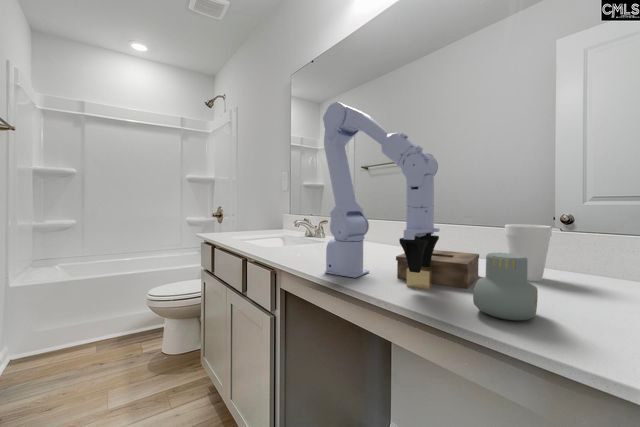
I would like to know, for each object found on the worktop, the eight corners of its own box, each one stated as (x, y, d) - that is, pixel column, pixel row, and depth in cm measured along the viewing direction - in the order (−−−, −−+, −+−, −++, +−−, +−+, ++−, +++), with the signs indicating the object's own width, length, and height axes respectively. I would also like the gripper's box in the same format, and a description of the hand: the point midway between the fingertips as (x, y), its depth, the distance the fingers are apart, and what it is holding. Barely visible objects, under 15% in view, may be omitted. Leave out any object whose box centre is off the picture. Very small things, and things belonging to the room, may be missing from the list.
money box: (395, 278, 74) (395, 256, 74) (417, 267, 87) (417, 248, 87) (466, 289, 65) (467, 264, 65) (478, 275, 78) (479, 253, 77)
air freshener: (484, 301, 57) (485, 249, 57) (537, 311, 52) (539, 253, 52) (470, 318, 49) (471, 257, 48) (532, 332, 44) (533, 263, 43)
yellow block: (406, 286, 68) (406, 268, 68) (409, 284, 69) (409, 267, 69) (429, 290, 65) (429, 271, 65) (431, 288, 66) (431, 270, 66)
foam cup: (535, 273, 79) (536, 224, 79) (559, 283, 70) (561, 227, 69) (497, 273, 80) (498, 224, 80) (516, 282, 71) (517, 227, 70)
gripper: (428, 208, 58) (428, 278, 58) (447, 207, 70) (447, 265, 70) (393, 208, 62) (393, 273, 63) (416, 207, 74) (416, 262, 74)
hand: (419, 269), depth 67 cm, fingers open, 6 cm apart
